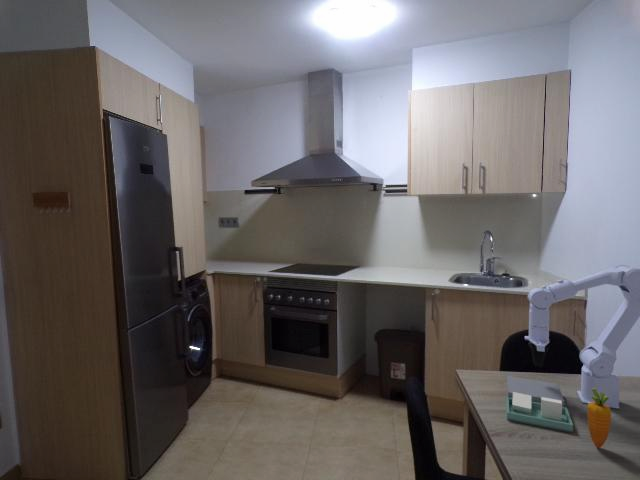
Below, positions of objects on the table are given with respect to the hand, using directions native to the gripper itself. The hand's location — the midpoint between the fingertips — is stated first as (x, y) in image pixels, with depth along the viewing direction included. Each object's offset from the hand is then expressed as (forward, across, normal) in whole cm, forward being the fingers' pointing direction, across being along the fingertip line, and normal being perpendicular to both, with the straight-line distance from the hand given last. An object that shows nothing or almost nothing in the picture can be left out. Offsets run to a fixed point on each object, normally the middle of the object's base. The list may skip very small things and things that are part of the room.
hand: (537, 365), depth 122 cm
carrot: (+10, +27, +11) cm, 31 cm away
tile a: (+6, +15, +2) cm, 16 cm away
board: (+9, +4, -2) cm, 11 cm away
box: (+9, +17, -2) cm, 19 cm away
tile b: (+8, +14, -5) cm, 17 cm away
